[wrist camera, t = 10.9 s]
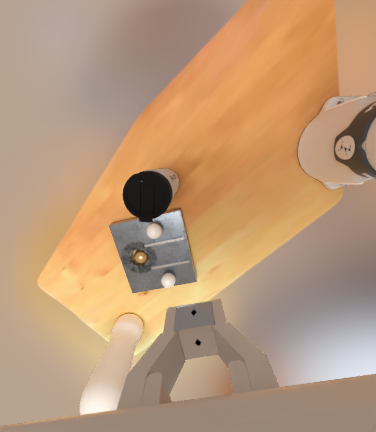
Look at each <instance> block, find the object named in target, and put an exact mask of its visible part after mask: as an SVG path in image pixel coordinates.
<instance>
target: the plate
mask: <svg viewBox="0 0 376 432" xmlns="http://www.w3.org/2000/svg"><path fill="white" fill-rule="evenodd" d="M152 220H153V222H150V223H148V222H140V221H139V218H138V217H136V218H131V219H127V220H122V221H117V222H113V223H112V224H110V225H109V227H110V230H111V233H112V236H113V239H114V242H115V244H116V247H117V250H118V253H119V256H120V259H121V261H122V264H123V267H124V270H125V273H126V276H127V278H128V281H129V284H130V287H131V290H132V292H133V293H137V292H143V291H148V290H153V289H159V288H164V286H163V285H162V283H161V278H162V276H163V275H164V274H166V273H171V274H173V275H174V276H175V279H176V281H175V284H174V286H175V285H181V284H186V283H192V282H197V277H196V272H195V267H194V263H193V259H192V255H191V250H190V246H189V242H188V238H187V233H186V229H185V225H184V221H183V216H182V212H181V208H179V209H174V210H169V211H165V212H164V213H163V214H162V215H161V216H159V217H157V218H155V219H152ZM153 223H156V224H159V225H160V226H161V228H162V234H161V236H160V237H159V238H157V239H151V238H149V237H148V235H147V233H146V230H147V227H148V226H149V225H150V224H153ZM137 249H140V250H143V251H145V252H146V253H147V255H148V260H147V261H146V262H145V263H138V262H136V261H135V258H134V255H133V251H134V250H137Z"/></svg>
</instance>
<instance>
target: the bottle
mask: <svg viewBox="0 0 376 432" xmlns="http://www.w3.org/2000/svg"><path fill="white" fill-rule="evenodd" d="M142 332H143V322H142V320H141V318H140V317H138V316H137V315H135V314H130V313H128V314H124V315H122V316H120V317H119V318H118V320H117V321H116V322H115V324H114V327H113V329H112V335H111V339H110V341H109V343H108V345H107V347H106V349H105V351H104V353H103V354H102V356H101V358H100V360H99V362H98V364H97V366H96V368H95V370H94V372H93V373H92V375H91V377H90V379H89V381H88V383H87V385H86V387H85V389H84V391H83V394H82V398H81V401H80V415H83V414H90V413H97V412H105V411H112V410H116V409H117V406H118V403H119V399H120V396H121V393H122V390H123V386H124V383H125V380H126V376H127V375H128V374H129V372H130V368H131V363H132V359H133V355H134V351H135V347H136V344H137V343H138V342H139V340H140V338H141V335H142Z"/></svg>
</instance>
